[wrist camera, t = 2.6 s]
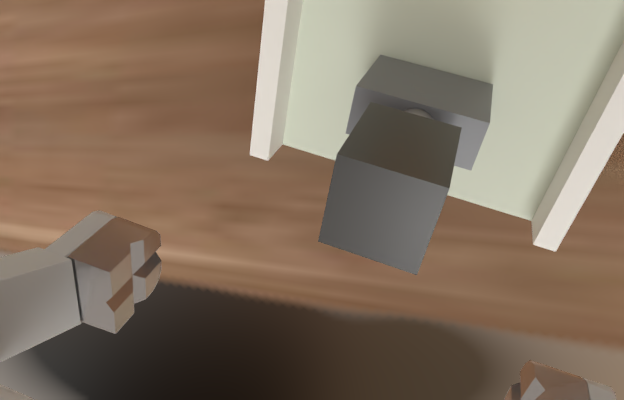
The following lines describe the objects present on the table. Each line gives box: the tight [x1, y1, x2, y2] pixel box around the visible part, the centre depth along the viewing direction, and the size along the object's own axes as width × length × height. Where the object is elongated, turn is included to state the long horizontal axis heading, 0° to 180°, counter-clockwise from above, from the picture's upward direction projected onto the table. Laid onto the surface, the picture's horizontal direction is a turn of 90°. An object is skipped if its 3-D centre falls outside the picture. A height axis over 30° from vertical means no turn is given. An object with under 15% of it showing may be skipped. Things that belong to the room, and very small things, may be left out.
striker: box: [318, 55, 493, 275], centre depth 18 cm, size 5×3×11 cm, turn 81°
